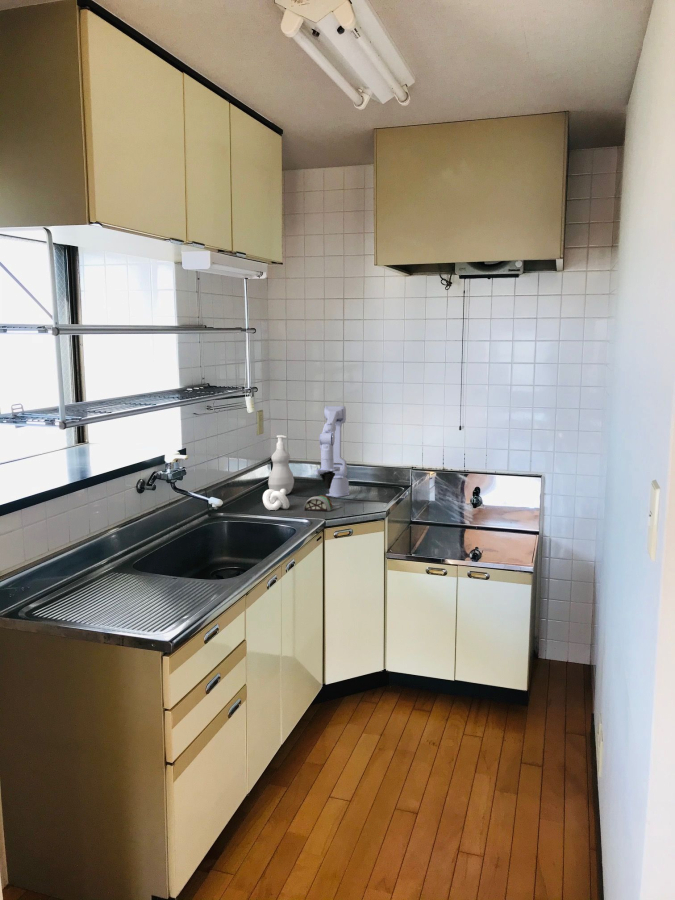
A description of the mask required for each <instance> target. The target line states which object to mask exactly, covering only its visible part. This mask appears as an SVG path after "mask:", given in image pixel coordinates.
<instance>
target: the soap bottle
mask: <svg viewBox="0 0 675 900" xmlns="http://www.w3.org/2000/svg"><path fill="white" fill-rule="evenodd" d="M275 437H276V438H277V442H276V448H275V451H274V452H273V453H272V455H271V461H272V469H271V470H270V474H269V475H268V481H267V484H268V488H269V489H273V490H275V491H280V490H281V489H285V490H286V495H288V494H290V493H291V492H292V491H293V488H294V483H295V478H294V475H293V472H292V469H291V468H290V466H289V462H290V457H291V456H290V454H289V452H288V451H286V449H285V442H284V441H283V438H284V439H285V438H288V437H287V436H286V435H283V434H278V435H276V436H275Z"/></svg>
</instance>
